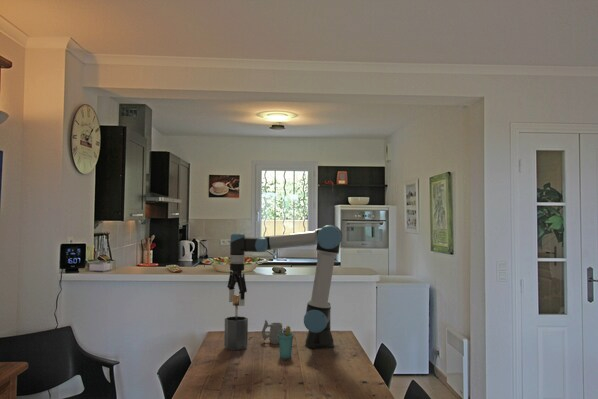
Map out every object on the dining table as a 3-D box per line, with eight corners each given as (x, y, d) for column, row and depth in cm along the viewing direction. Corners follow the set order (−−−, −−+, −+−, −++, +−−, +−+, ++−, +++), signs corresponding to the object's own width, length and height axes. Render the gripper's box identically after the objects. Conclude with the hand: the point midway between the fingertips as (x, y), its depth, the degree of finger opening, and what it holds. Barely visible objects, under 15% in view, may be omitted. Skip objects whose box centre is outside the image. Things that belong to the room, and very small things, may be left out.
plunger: (244, 329, 242) (244, 295, 242) (232, 330, 238) (233, 296, 239) (239, 327, 247) (239, 294, 248) (228, 328, 244) (228, 295, 245)
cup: (291, 362, 218) (291, 329, 219) (275, 361, 219) (275, 329, 219) (294, 353, 232) (294, 323, 233) (279, 353, 233) (279, 322, 233)
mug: (284, 343, 251) (284, 321, 252) (262, 344, 250) (262, 321, 250) (282, 340, 259) (282, 318, 260) (261, 340, 257) (261, 318, 258)
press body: (250, 348, 240) (250, 319, 241) (229, 351, 235) (230, 321, 235) (238, 342, 253) (239, 314, 254) (219, 344, 247) (219, 316, 248)
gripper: (221, 261, 253) (221, 300, 252) (240, 265, 232) (239, 308, 231) (234, 260, 257) (234, 299, 256) (253, 264, 236) (253, 306, 235)
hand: (236, 303), depth 243 cm, fingers open, 13 cm apart
